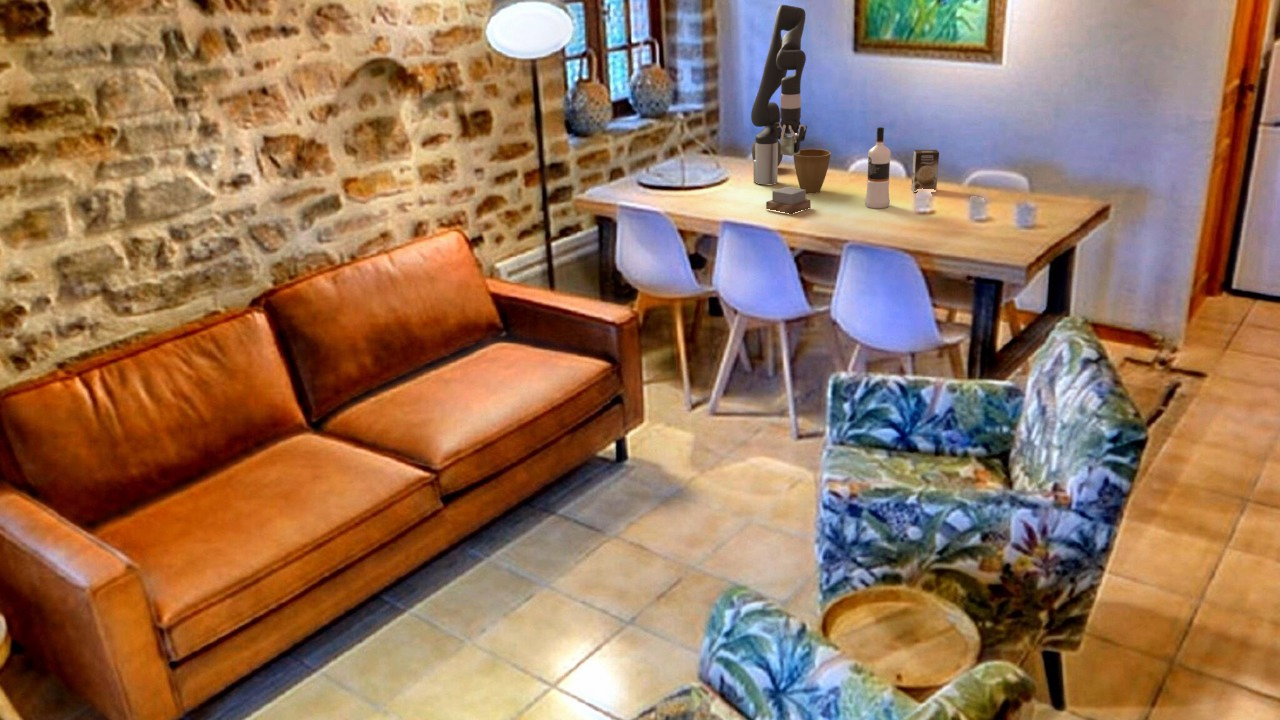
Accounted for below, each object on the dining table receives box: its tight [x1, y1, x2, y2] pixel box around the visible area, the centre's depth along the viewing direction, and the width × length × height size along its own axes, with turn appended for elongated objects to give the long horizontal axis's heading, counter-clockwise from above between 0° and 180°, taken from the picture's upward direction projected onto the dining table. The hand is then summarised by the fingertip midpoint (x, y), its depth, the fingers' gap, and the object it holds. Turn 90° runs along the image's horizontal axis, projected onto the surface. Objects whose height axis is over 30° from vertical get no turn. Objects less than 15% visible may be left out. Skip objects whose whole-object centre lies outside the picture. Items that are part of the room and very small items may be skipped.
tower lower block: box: [765, 198, 812, 214], centre depth 409 cm, size 12×12×4 cm
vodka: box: [864, 126, 892, 210], centre depth 403 cm, size 9×9×30 cm
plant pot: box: [793, 148, 832, 194], centre depth 430 cm, size 15×15×16 cm
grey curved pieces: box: [751, 140, 784, 167], centre depth 469 cm, size 14×14×15 cm
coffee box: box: [910, 149, 940, 193], centre depth 423 cm, size 9×6×16 cm
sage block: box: [780, 135, 801, 157], centre depth 400 cm, size 5×5×6 cm
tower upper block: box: [771, 186, 807, 205], centre depth 407 cm, size 9×9×4 cm
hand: (790, 151), depth 401 cm, fingers closed on sage block, 5 cm apart
